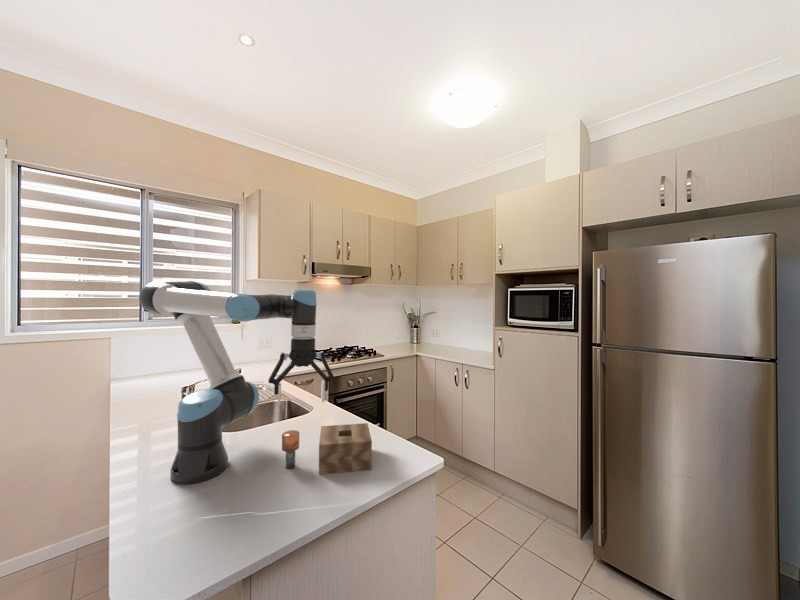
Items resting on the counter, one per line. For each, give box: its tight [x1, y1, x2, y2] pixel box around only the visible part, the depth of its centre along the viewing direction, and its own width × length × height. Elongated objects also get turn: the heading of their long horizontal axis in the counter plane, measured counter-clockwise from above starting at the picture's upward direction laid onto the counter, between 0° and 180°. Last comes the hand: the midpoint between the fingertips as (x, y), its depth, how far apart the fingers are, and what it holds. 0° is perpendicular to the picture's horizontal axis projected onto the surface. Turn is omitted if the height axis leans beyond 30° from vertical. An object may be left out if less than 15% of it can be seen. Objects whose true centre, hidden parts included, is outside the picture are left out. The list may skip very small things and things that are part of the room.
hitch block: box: [318, 422, 373, 475], centre depth 106 cm, size 16×14×9 cm
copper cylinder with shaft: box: [281, 429, 300, 470], centre depth 101 cm, size 5×5×10 cm
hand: (301, 402), depth 105 cm, fingers open, 13 cm apart
